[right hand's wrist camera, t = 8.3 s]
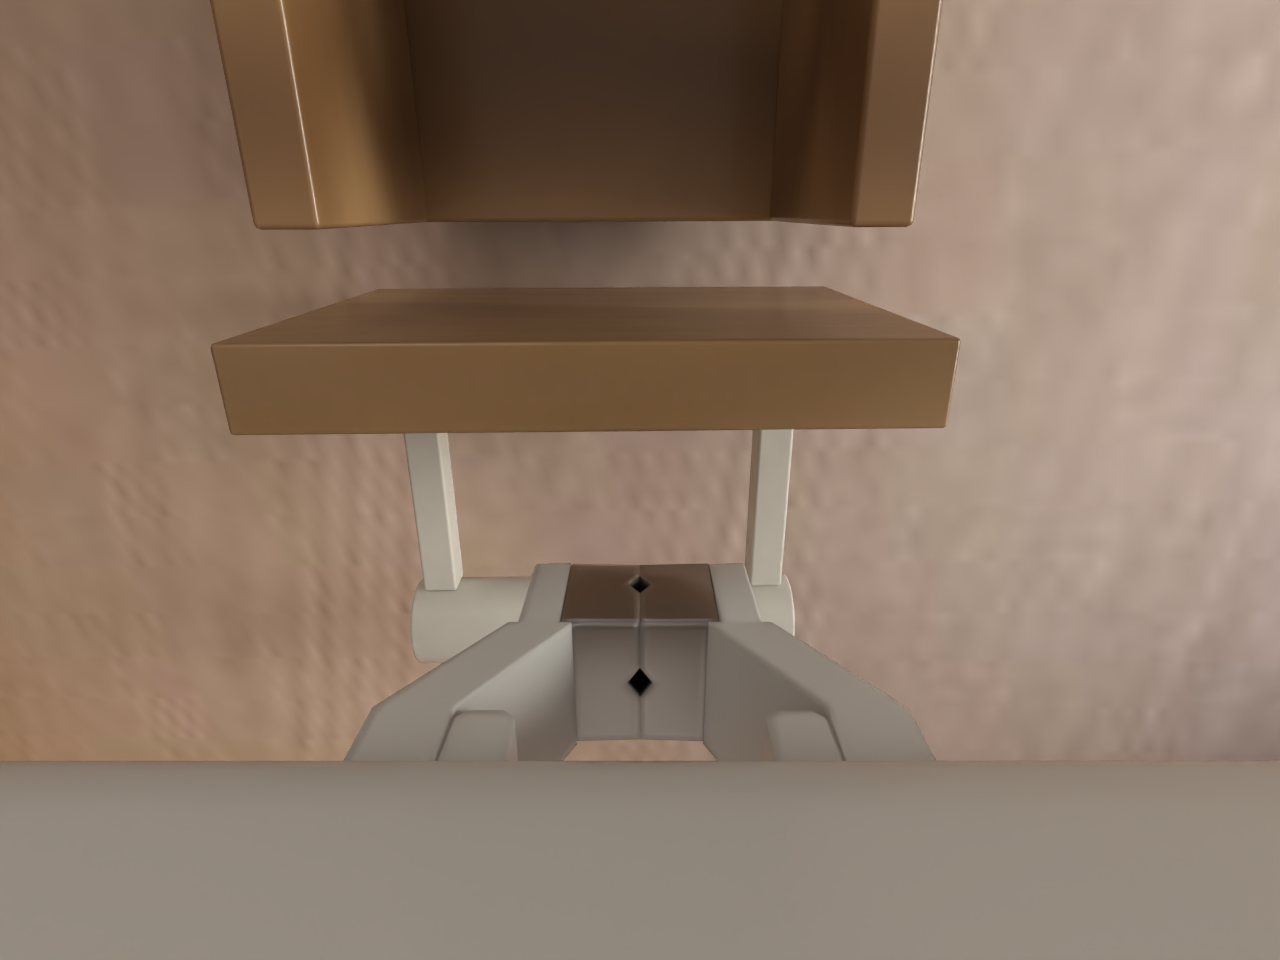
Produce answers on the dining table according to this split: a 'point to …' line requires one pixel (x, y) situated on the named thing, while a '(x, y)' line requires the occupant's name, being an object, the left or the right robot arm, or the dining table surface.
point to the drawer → (581, 191)
